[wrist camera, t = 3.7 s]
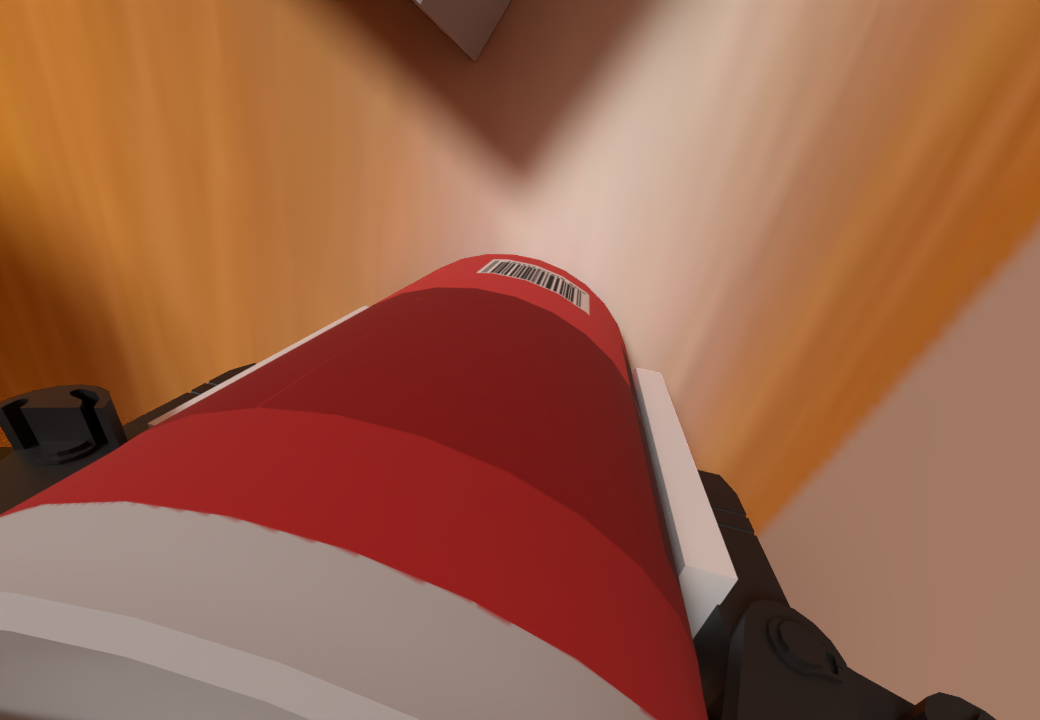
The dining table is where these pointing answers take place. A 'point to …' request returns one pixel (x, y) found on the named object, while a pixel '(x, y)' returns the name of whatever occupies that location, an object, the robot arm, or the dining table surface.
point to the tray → (465, 20)
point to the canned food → (370, 532)
